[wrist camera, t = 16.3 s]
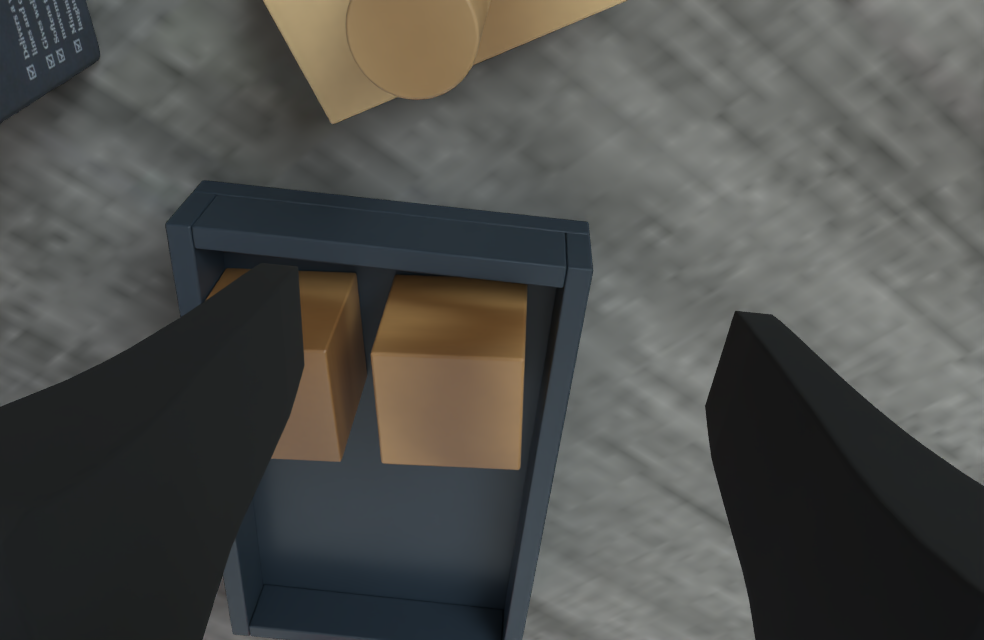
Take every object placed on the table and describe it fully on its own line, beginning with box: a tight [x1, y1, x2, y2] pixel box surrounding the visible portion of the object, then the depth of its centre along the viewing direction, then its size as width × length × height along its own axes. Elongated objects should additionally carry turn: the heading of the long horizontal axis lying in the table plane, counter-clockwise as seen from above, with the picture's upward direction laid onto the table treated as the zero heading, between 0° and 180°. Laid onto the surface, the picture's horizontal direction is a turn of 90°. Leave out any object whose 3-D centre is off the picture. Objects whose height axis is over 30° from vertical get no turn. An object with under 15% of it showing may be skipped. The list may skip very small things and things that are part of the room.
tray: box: [165, 180, 593, 640], centre depth 27 cm, size 11×18×3 cm, turn 175°
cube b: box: [370, 275, 528, 470], centre depth 23 cm, size 4×4×4 cm
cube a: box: [205, 268, 367, 462], centre depth 23 cm, size 4×4×4 cm
